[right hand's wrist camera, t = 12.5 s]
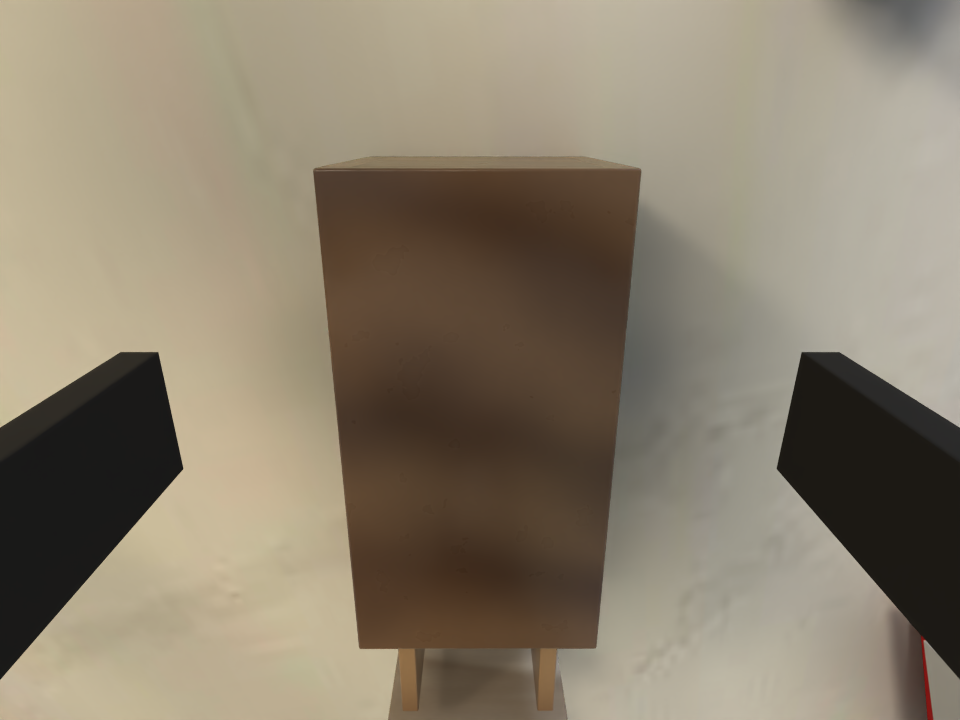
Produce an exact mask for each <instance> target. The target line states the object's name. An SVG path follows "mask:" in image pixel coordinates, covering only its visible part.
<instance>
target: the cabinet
mask: <svg viewBox="0 0 960 720" xmlns="http://www.w3.org/2000/svg"><path fill="white" fill-rule="evenodd" d="M313 173H314V183H315V194H316V204H317V214H318V225H319V235H320V246H321V256H322V266H323V277H324V287H325V298H326V308H327V318H328V329H329V339H330V350H331V360H332V370H333V381H334V391H335V402H336V412H337V423H338V433H339V443H340V454H341V464H342V475H343V485H344V495H345V506H346V516H347V527H348V537H349V547H350V558H351V568H352V579H353V589H354V600H355V610H356V620H357V631H358V641H359V648H360V649H594V648H596V645H597V634H598V624H599V613H600V603H601V592H602V582H603V571H604V560H605V550H606V539H607V529H608V518H609V508H610V497H611V486H612V476H613V465H614V455H615V444H616V434H617V423H618V412H619V402H620V391H621V381H622V370H623V360H624V349H625V338H626V328H627V317H628V307H629V296H630V286H631V275H632V265H633V254H634V243H635V233H636V222H637V212H638V201H639V191H640V180H641V169H639V168H635V167H631V166H626V165H622V164H617V163H612V162H607V161H603V160H598V159H593V158H588V157H366V158H361V159H356V160H351V161H346V162H341V163H337V164H332V165H327V166H322V167H318V168H315V169H314V170H313Z"/></svg>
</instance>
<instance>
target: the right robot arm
mask: <svg viewBox="0 0 960 720" xmlns="http://www.w3.org/2000/svg"><path fill="white" fill-rule="evenodd" d="M182 470H183V465H182V460H181V456H180V451H179V446H178V442H177V437H176V433H175V428H174V423H173V419H172V414H171V409H170V405H169V400H168V395H167V391H166V386H165V381H164V377H163V372H162V368H161V363H160V358H159V354H158V352H120V353H119V354H117V355H116V356H114V357H112V358H111V359H109V360H108V361H106V362H104V363H103V364H101V365H100V366H98V367H96V368H95V369H93V370H92V371H90V372H88V373H87V374H85V375H84V376H82V377H80V378H79V379H77V380H76V381H74V382H72V383H71V384H69V385H68V386H66V387H65V388H63V389H61V390H60V391H58V392H57V393H55V394H53V395H52V396H50V397H49V398H47V399H45V400H44V401H42V402H41V403H39V404H37V405H36V406H34V407H33V408H31V409H29V410H28V411H26V412H25V413H23V414H21V415H20V416H18V417H17V418H15V419H13V420H12V421H10V422H9V423H7V424H5V425H4V426H2V427H1V428H0V679H1V678H2V677H3V676H4V675H5V674H6V672H7V671H8V670H9V669H10V668H11V667H12V665H13V664H14V663H15V662H16V661H17V660H18V659H19V657H20V656H21V655H22V654H23V653H24V652H25V651H26V649H27V648H28V647H29V646H30V645H31V644H32V642H33V641H34V640H35V639H36V638H37V637H38V636H39V634H40V633H41V632H42V631H43V630H44V629H45V627H46V626H47V625H48V624H49V623H50V622H51V621H52V619H53V618H54V617H55V616H56V615H57V614H58V613H59V611H60V610H61V609H62V608H63V607H64V606H65V604H66V603H67V602H68V601H69V600H70V599H71V598H72V596H73V595H74V594H75V593H76V592H77V591H78V589H79V588H80V587H81V586H82V585H83V584H84V583H85V581H86V580H87V579H88V578H89V577H90V576H91V575H92V573H93V572H94V571H95V570H96V569H97V568H98V566H99V565H100V564H101V563H102V562H103V561H104V560H105V558H106V557H107V556H108V555H109V554H110V553H111V552H112V550H113V549H114V548H115V547H116V546H117V545H118V543H119V542H120V541H121V540H122V539H123V538H124V537H125V535H126V534H127V533H128V532H129V531H130V530H131V528H132V527H133V526H134V525H135V524H136V523H137V522H138V520H139V519H140V518H141V517H142V516H143V515H144V514H145V512H146V511H147V510H148V509H149V508H150V507H151V505H152V504H153V503H154V502H155V501H156V500H157V499H158V497H159V496H160V495H161V494H162V493H163V492H164V490H165V489H166V488H167V487H168V486H169V485H170V484H171V482H172V481H173V480H174V479H175V478H176V477H177V476H178V474H179V473H180V472H181V471H182ZM777 470H778V471H779V472H780V473H781V474H782V476H783V477H784V478H785V479H786V480H787V481H788V482H789V484H790V485H791V486H792V487H793V488H794V489H795V490H796V492H797V493H798V494H799V495H800V496H801V497H802V499H803V500H804V501H805V502H806V503H807V504H808V505H809V507H810V508H811V509H812V510H813V511H814V512H815V514H816V515H817V516H818V517H819V518H820V519H821V520H822V522H823V523H824V524H825V525H826V526H827V527H828V528H829V530H830V531H831V532H832V533H833V534H834V535H835V537H836V538H837V539H838V540H839V541H840V542H841V543H842V545H843V546H844V547H845V548H846V549H847V550H848V552H849V553H850V554H851V555H852V556H853V557H854V558H855V560H856V561H857V562H858V563H859V564H860V565H861V566H862V568H863V569H864V570H865V571H866V572H867V573H868V575H869V576H870V577H871V578H872V579H873V580H874V581H875V583H876V584H877V585H878V586H879V587H880V588H881V589H882V591H883V592H884V593H885V594H886V595H887V596H888V598H889V599H890V600H891V601H892V602H893V603H894V604H895V606H896V607H897V608H898V609H899V610H900V611H901V613H902V614H903V615H904V616H905V617H906V618H907V619H908V621H909V622H910V623H911V624H912V625H913V626H914V627H915V629H916V630H917V631H918V632H919V633H920V634H921V636H922V637H923V638H924V639H925V640H926V641H927V642H928V644H929V645H930V646H931V647H932V648H933V649H934V651H935V652H936V653H937V654H938V655H939V656H940V657H941V659H942V660H943V661H944V662H945V663H946V664H947V665H948V667H949V668H950V669H951V670H952V671H953V672H954V674H955V675H956V676H957V677H958V678H959V679H960V428H959V427H958V426H956V425H955V424H953V423H951V422H950V421H948V420H947V419H945V418H943V417H942V416H940V415H939V414H937V413H935V412H934V411H932V410H931V409H929V408H927V407H926V406H924V405H923V404H921V403H919V402H918V401H916V400H915V399H913V398H911V397H910V396H908V395H907V394H905V393H903V392H902V391H900V390H899V389H897V388H895V387H894V386H892V385H891V384H889V383H888V382H886V381H884V380H883V379H881V378H880V377H878V376H876V375H875V374H873V373H872V372H870V371H868V370H867V369H865V368H864V367H862V366H860V365H859V364H857V363H856V362H854V361H852V360H851V359H849V358H848V357H846V356H844V355H843V354H841V353H840V352H802V354H801V358H800V363H799V368H798V372H797V377H796V381H795V386H794V391H793V395H792V400H791V405H790V409H789V414H788V419H787V423H786V428H785V433H784V437H783V442H782V446H781V451H780V456H779V460H778V465H777Z"/></svg>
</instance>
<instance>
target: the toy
mask: <svg viewBox="0 0 960 720" xmlns="http://www.w3.org/2000/svg"><path fill="white" fill-rule="evenodd" d="M921 642H922V655H923V667H924V680H925V693H926V705H927V718H928V720H960V679H959V678H958V677H957V676H956V675H955V674H954V672H953V671H952V670H951V669H950V668H949V667H948V665H947V664H946V663H945V662H944V661H943V660H942V659H941V657H940V656H939V655H938V654H937V653H936V652H935V651H934V649H933V648H932V647H931V646H930V645H929V644H928V642H927V641H926V640H925V639H924V638H923V637H922V636H921Z"/></svg>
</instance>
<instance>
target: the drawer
mask: <svg viewBox="0 0 960 720" xmlns="http://www.w3.org/2000/svg"><path fill="white" fill-rule="evenodd" d="M398 651H399V652H398V659H397V665H396V672H395V678H394V685H393V691H392V698H391V704H390V711H389V717H388V720H568V719H567V712H566V706H565V699H564V693H563V686H562V680H561V673H560V667H559V660H558V653H557V649H398Z"/></svg>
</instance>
